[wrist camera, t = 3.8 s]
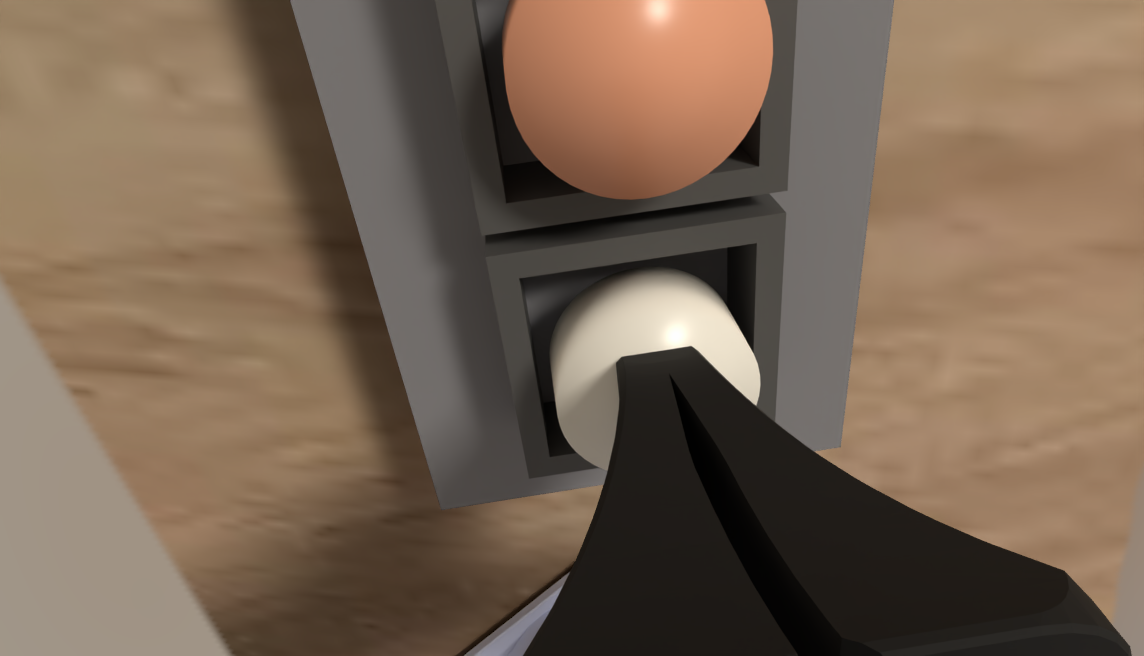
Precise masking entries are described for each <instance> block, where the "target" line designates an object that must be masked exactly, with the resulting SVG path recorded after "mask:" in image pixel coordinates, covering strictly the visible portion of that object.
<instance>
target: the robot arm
mask: <svg viewBox="0 0 1144 656" xmlns="http://www.w3.org/2000/svg"><path fill="white" fill-rule="evenodd" d="M616 370H617V381H618V391H619V410H618V418H617V425H616V433H615V439H614V444H613V448H612V453H611V457H610V462H609V466H608V471H607V475H606V478H605V482H604V485H603V489H602V492H601V495H600V499H599V502H598V505H597V508H596V511H595V514H594V516H593V519H592V522H591V524H590V527H589V529H588V532H587V534H586V537H585V540H584V542H583V545H582V547H581V549H580V552H579V554H578V556H577V559H576V561H575V563H574V565H573V567H572V569H571V571H570V572H569V573H568V574H566V575H565V576H564V577H563V578H561V579H560V580H559V581H557V582H556V583H555V584H554V585H552V586H551V587H550V588H549V589H547V590H546V591H545V592H544V593H542V594H541V595H540V596H539V597H537V598H536V599H535V600H533V601H532V602H531V603H530V604H528V605H527V606H526V607H525V608H523V609H522V610H521V611H520V612H518V613H517V614H516V615H514V616H513V617H512V618H511V619H509V620H508V621H507V622H506V623H504V624H503V625H502V626H501V627H499V628H498V629H497V630H496V631H494V632H493V633H492V634H490V635H489V636H488V637H487V638H485V639H484V640H483V641H482V642H480V643H479V644H478V645H477V646H475V647H474V648H473V649H471V650H470V651H469V652H468V653H466V654H465V655H464V656H1132V655H1131V649H1130V646H1129V645H1128V644H1127V642H1126V641H1125V640H1124V639H1123V637H1121V635H1120V634H1119V633H1118V631H1117V630H1116V629H1115V628H1114V627H1113V625H1112V624H1111V623H1110V622H1109V620H1108V619H1107V618H1106V616H1105V615H1104V614H1103V613H1102V612H1101V610H1100V609H1099V608H1098V607H1097V605H1096V604H1095V603H1094V602H1093V601H1092V599H1091V598H1090V597H1089V596H1088V595H1087V594H1086V593H1085V592H1084V591H1083V590H1082V589H1081V588H1080V587H1079V586H1078V585H1077V584H1076V583H1075V582H1074V581H1073V580H1072V578H1071V577H1070V576H1069V575H1068V574H1067V573H1066V572H1065V571H1063V570H1061V569H1058V568H1055V567H1052V566H1050V565H1047V564H1044V563H1042V562H1039V561H1036V560H1033V559H1031V558H1028V557H1025V556H1022V555H1020V554H1017V553H1014V552H1011V551H1009V550H1006V549H1003V548H1001V547H998V546H995V545H992V544H990V543H987V542H985V541H982V540H980V539H977V538H975V537H973V536H970V535H968V534H966V533H964V532H961V531H959V530H957V529H954V528H952V527H950V526H948V525H945V524H943V523H941V522H938V521H936V520H934V519H932V518H930V517H928V516H926V515H924V514H922V513H919V512H917V511H915V510H913V509H911V508H909V507H907V506H905V505H904V504H902V503H900V502H898V501H896V500H894V499H892V498H890V497H888V496H887V495H885V494H883V493H881V492H879V491H877V490H875V489H873V488H872V487H870V486H868V485H866V484H865V483H863V482H861V481H859V480H858V479H856V478H854V477H853V476H851V475H849V474H848V473H846V472H845V471H843V470H841V469H840V468H838V467H837V466H835V465H834V464H832V463H830V462H829V461H827V460H826V459H824V458H823V457H821V456H820V455H818V454H817V453H815V452H814V451H813V450H811V449H810V448H808V447H807V446H806V445H804V444H803V443H802V442H800V441H799V440H798V439H796V438H795V437H794V436H792V435H791V434H790V433H788V432H787V431H786V430H785V429H783V428H782V427H781V426H780V425H778V424H777V423H776V422H775V421H773V420H772V419H771V418H770V417H768V416H767V415H766V414H765V413H764V412H763V411H762V410H760V409H759V408H758V407H757V406H756V405H755V404H753V403H752V402H751V401H750V400H749V399H748V398H746V397H745V396H744V395H743V394H742V393H741V392H740V391H739V390H738V389H736V388H735V387H734V386H733V385H732V384H731V383H730V382H729V381H728V380H727V379H726V378H725V377H724V376H723V375H722V374H721V373H720V372H719V371H718V370H717V369H716V368H715V367H714V366H713V365H712V364H711V363H710V362H709V361H708V360H707V359H706V358H705V357H704V356H703V355H702V354H701V353H700V352H699V351H698V350H696V349H695V348H694V347H692V346H688V347H681V348H675V349H669V350H662V351H656V352H649V353H642V354H636V355H629V356H623V357H621V358H620V359H619V360H618V361H617V362H616Z"/></svg>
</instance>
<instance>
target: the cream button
mask: <svg viewBox="0 0 1144 656" xmlns="http://www.w3.org/2000/svg"><path fill="white" fill-rule="evenodd" d="M688 346H692V347H694V348H695V349H696V350H698V351H699V352H700V353H701V354H702V355H703V356H704V357H705V358H706V359H707V360H708V361H709V362H710V363H711V364H712V365H713V366H714V367H715V368H716V369H717V370H718V371H719V372H720V373H721V374H722V375H723V376H724V377H725V378H726V379H727V380H728V381H729V382H730V383H731V384H732V385H733V386H734V387H735V388H736V389H738V390H739V391H740V392H741V393H742V394H743V395H744V396H745V397H746V398H748V399H749V400H750V401H751V402H752V403H753V404H755V405H757V401H758V398H759V393H760V372H759V368H758V363H757V361H756V358H755V356H754V354H753V352H752V350H751V348H750V347H749V345H748V343H747V341H746V339H745V338H744V336H743V334H742V332H741V331H740V329H739V327H738V325H737V323H736V322H735V320H734V318H733V316H732V315H731V313H730V311H729V309H728V307H727V306H726V304H725V302H724V301H723V299H722V298H721V296H720V295H719V294H718V293H717V292H716V291H715V290H714V289H713V288H712V287H711V286H710V285H708V284H707V283H706V282H704V281H703V280H701V279H700V278H698V277H696V276H694V275H692V274H689V273H687V272H684V271H680V270H677V269H673V268H666V267H639V268H633V269H628V270H623V271H620V272H617V273H614V274H611V275H609V276H607V277H605V278H603V279H600V280H599V281H597V282H595V283H594V284H592V285H590V286H589V287H587V288H586V289H585V290H584V291H582V292H581V293H580V294H578V295H577V296H576V298H575V299H574V300H573V301H572V302H571V303H570V304H569V305H568V306H567V308H566V309H565V310H564V311H563V313H562V315H561V316H560V318H559V320H558V321H557V323H556V326H555V328H554V331H553V334H552V338H551V342H550V352H549V355H550V366H551V373H552V380H553V388H554V395H555V402H556V409H557V416H558V420H559V424H560V428H561V430H562V432H563V435H564V437H565V438H566V440H567V441H568V443H569V444H570V446H571V447H572V448H573V449H574V450H575V451H576V452H577V453H578V454H579V455H580V456H582V457H583V458H584V459H585V460H587V461H588V462H590V463H592V464H593V465H595V466H597V467H599V468H602V469H604V470H607V471H608V466H609V462H610V457H611V453H612V448H613V444H614V439H615V433H616V425H617V418H618V410H619V391H618V381H617V370H616V362H617V361H618V360H619V359H620V358H621V357H623V356H629V355H636V354H642V353H649V352H656V351H662V350H669V349H675V348H681V347H688Z"/></svg>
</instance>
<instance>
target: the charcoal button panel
mask: <svg viewBox="0 0 1144 656" xmlns="http://www.w3.org/2000/svg"><path fill="white" fill-rule="evenodd" d="M290 2H291V5H292V8H293V12H294V15H295V18H296V22H297V25H298V29H299V32H300V35H301V39H302V42H303V45H304V49H305V52H306V56H307V59H308V62H309V66H310V69H311V72H312V76H313V79H314V82H315V86H316V89H317V93H318V96H319V99H320V103H321V106H322V109H323V113H324V116H325V120H326V123H327V126H328V130H329V133H330V136H331V140H332V143H333V147H334V150H335V153H336V157H337V160H338V163H339V167H340V170H341V173H342V177H343V180H344V184H345V187H346V190H347V194H348V197H349V200H350V204H351V207H352V211H353V214H354V217H355V221H356V224H357V227H358V231H359V234H360V238H361V241H362V244H363V248H364V251H365V254H366V258H367V261H368V265H369V268H370V271H371V275H372V278H373V281H374V285H375V288H376V291H377V295H378V298H379V302H380V305H381V308H382V312H383V315H384V318H385V322H386V325H387V329H388V332H389V335H390V339H391V342H392V345H393V349H394V352H395V356H396V359H397V362H398V366H399V369H400V372H401V376H402V379H403V383H404V386H405V389H406V393H407V396H408V399H409V403H410V406H411V409H412V413H413V416H414V420H415V423H416V426H417V430H418V433H419V436H420V440H421V443H422V447H423V450H424V453H425V457H426V460H427V463H428V467H429V470H430V474H431V477H432V480H433V484H434V487H435V490H436V494H437V497H438V501H439V504H440V507H441V510H445V509H451V508H458V507H464V506H470V505H477V504H483V503H489V502H496V501H502V500H508V499H515V498H521V497H527V496H534V495H540V494H546V493H553V492H559V491H565V490H572V489H578V488H584V487H591V486H597V485H603V484H604V482H605V478H606V475H607V470H604V469H602V468H599V467H597V466H595V465H593V464H592V463H590V462H588V461H587V460H585V459H584V458H583V457H582V456H580V455H579V454H578V453H577V452H576V451H575V450H574V449H573V448H572V447H571V446H570V444H569V443H568V441H567V440H566V438H565V437H564V435H563V432H562V430H561V428H560V424H559V420H558V416H557V409H556V402H555V395H554V388H553V380H552V373H551V366H550V355H549V352H550V342H551V338H552V334H553V331H554V328H555V326H556V323H557V321H558V320H559V318H560V316H561V315H562V313H563V311H564V310H565V309H566V308H567V306H568V305H569V304H570V303H571V302H572V301H573V300H574V299H575V298H576V296H577V295H578V294H580V293H581V292H582V291H584V290H585V289H586V288H587V287H589V286H590V285H592V284H594V283H595V282H597V281H599V280H600V279H603V278H605V277H607V276H609V275H611V274H614V273H617V272H620V271H623V270H628V269H633V268H639V267H666V268H673V269H677V270H680V271H684V272H687V273H689V274H692V275H694V276H696V277H698V278H700V279H701V280H703V281H704V282H706V283H707V284H708V285H710V286H711V287H712V288H713V289H714V290H715V291H716V292H717V293H718V294H719V295H720V296H721V298H722V299H723V301H724V302H725V304H726V306H727V307H728V309H729V311H730V313H731V315H732V316H733V318H734V320H735V322H736V323H737V325H738V327H739V329H740V331H741V332H742V334H743V336H744V338H745V339H746V341H747V343H748V345H749V347H750V348H751V350H752V352H753V354H754V356H755V358H756V361H757V363H758V368H759V372H760V393H759V398H758V401H757V405H756V406H757V407H758V408H759V409H760V410H762V411H763V412H764V413H765V414H766V415H767V416H768V417H770V418H771V419H772V420H773V421H775V422H776V423H777V424H778V425H780V426H781V427H782V428H783V429H785V430H786V431H787V432H788V433H790V434H791V435H792V436H794V437H795V438H796V439H798V440H799V441H800V442H802V443H803V444H804V445H806V446H807V447H808V448H810V449H811V450H813V451H819V450H825V449H832V448H838V447H841V439H842V431H843V422H844V414H845V406H846V397H847V389H848V381H849V372H850V364H851V356H852V347H853V339H854V331H855V322H856V314H857V306H858V297H859V289H860V281H861V272H862V264H863V255H864V247H865V239H866V230H867V222H868V214H869V205H870V197H871V189H872V180H873V172H874V164H875V155H876V147H877V139H878V130H879V122H880V114H881V105H882V97H883V89H884V80H885V72H886V63H887V55H888V47H889V38H890V30H891V22H892V13H893V5H894V0H765V2H766V6H767V9H768V13H769V16H770V21H771V28H772V35H773V59H772V69H771V75H770V80H769V84H768V89H767V92H766V95H765V98H764V101H763V103H762V106H761V108H760V111H759V113H758V115H757V117H756V119H755V121H754V123H753V124H752V126H751V128H750V129H749V131H748V132H747V134H746V136H745V137H744V139H743V140H742V141H741V142H740V144H739V145H738V146H737V147H736V149H735V150H734V151H733V152H732V153H731V154H730V155H729V156H728V157H727V158H726V159H725V160H724V161H723V162H722V163H721V164H720V165H718V166H717V167H716V168H715V169H713V170H712V171H711V172H710V173H708V174H707V175H705V176H704V177H702V178H701V179H699V180H697V181H696V182H694V183H692V184H690V185H688V186H686V187H684V188H682V189H679V190H677V191H674V192H671V193H668V194H665V195H661V196H656V197H651V198H645V199H633V200H629V199H613V198H607V197H601V196H598V195H594V194H591V193H588V192H585V191H583V190H580V189H578V188H576V187H574V186H572V185H570V184H568V183H567V182H565V181H564V180H562V179H560V178H559V177H557V176H556V175H555V174H554V173H552V172H551V171H550V170H549V169H548V168H546V167H545V166H544V165H543V164H542V163H541V162H540V160H539V159H538V158H537V157H536V156H535V155H534V154H533V152H532V151H531V150H530V148H529V147H528V145H527V144H526V142H525V141H524V139H523V137H522V135H521V133H520V132H519V130H518V128H517V126H516V123H515V120H514V118H513V115H512V112H511V109H510V105H509V101H508V96H507V92H506V84H505V75H504V66H503V56H502V29H503V23H504V17H505V12H506V9H507V5H508V2H509V0H290Z"/></svg>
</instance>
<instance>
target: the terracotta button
mask: <svg viewBox="0 0 1144 656" xmlns="http://www.w3.org/2000/svg"><path fill="white" fill-rule="evenodd" d="M502 56H503V66H504V75H505V84H506V92H507V96H508V101H509V105H510V109H511V112H512V115H513V118H514V120H515V123H516V126H517V128H518V130H519V132H520V133H521V135H522V137H523V139H524V141H525V142H526V144H527V145H528V147H529V148H530V150H531V151H532V152H533V154H534V155H535V156H536V157H537V158H538V159H539V160H540V162H541V163H542V164H543V165H544V166H545V167H546V168H548V169H549V170H550V171H551V172H552V173H554V174H555V175H556V176H557V177H559V178H560V179H562V180H564V181H565V182H567V183H568V184H570V185H572V186H574V187H576V188H578V189H580V190H583V191H585V192H588V193H591V194H594V195H598V196H601V197H607V198H613V199H629V200H633V199H645V198H651V197H656V196H661V195H665V194H668V193H671V192H674V191H677V190H679V189H682V188H684V187H686V186H688V185H690V184H692V183H694V182H696V181H697V180H699V179H701V178H702V177H704V176H705V175H707V174H708V173H710V172H711V171H712V170H713V169H715V168H716V167H717V166H718V165H720V164H721V163H722V162H723V161H724V160H725V159H726V158H727V157H728V156H729V155H730V154H731V153H732V152H733V151H734V150H735V149H736V147H737V146H738V145H739V144H740V142H741V141H742V140H743V139H744V137H745V136H746V134H747V132H748V131H749V129H750V128H751V126H752V124H753V123H754V121H755V119H756V117H757V115H758V113H759V111H760V108H761V106H762V103H763V101H764V98H765V95H766V92H767V89H768V84H769V80H770V75H771V69H772V59H773V35H772V28H771V21H770V16H769V13H768V9H767V6H766V2H765V0H509V2H508V5H507V9H506V12H505V17H504V23H503V29H502Z"/></svg>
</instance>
